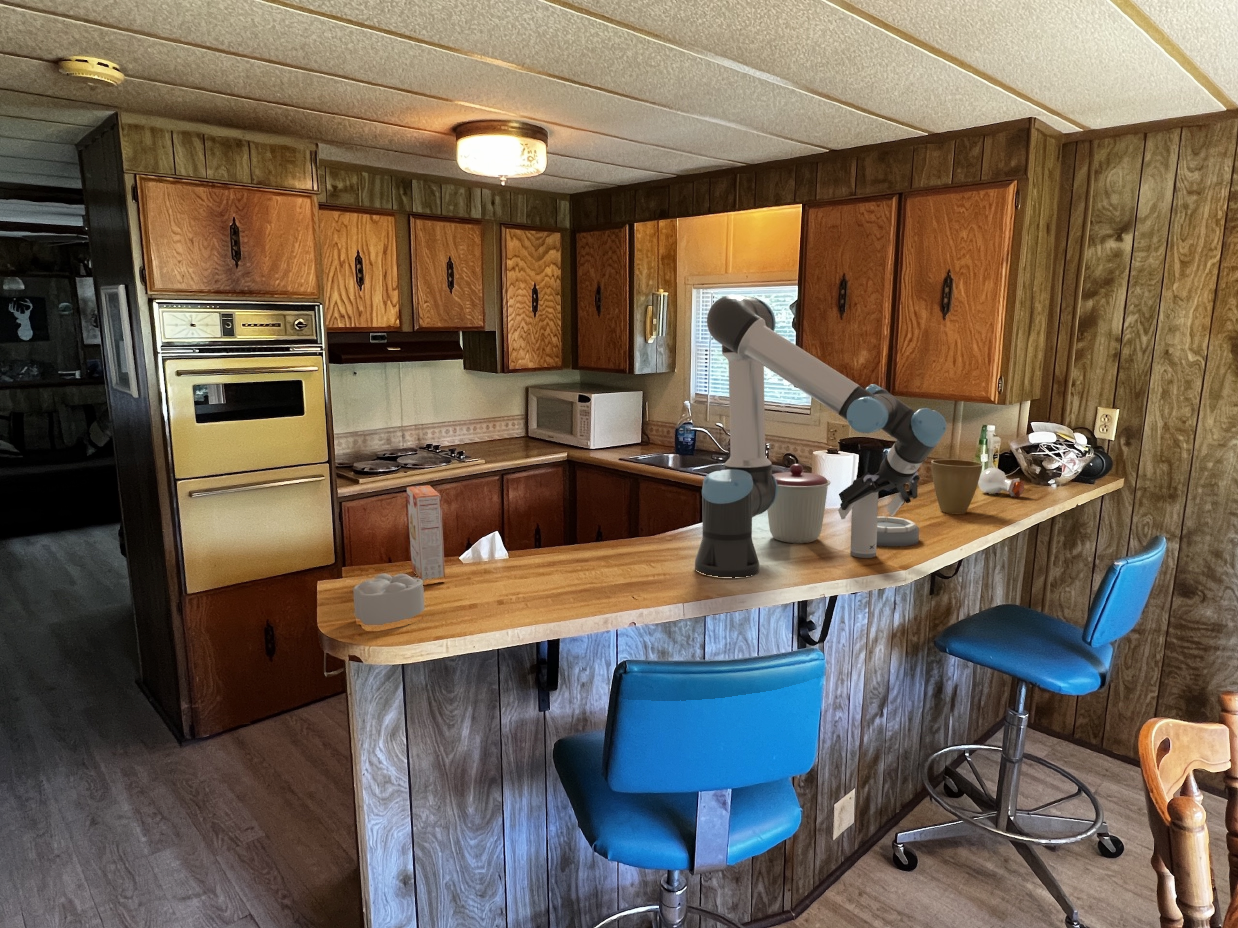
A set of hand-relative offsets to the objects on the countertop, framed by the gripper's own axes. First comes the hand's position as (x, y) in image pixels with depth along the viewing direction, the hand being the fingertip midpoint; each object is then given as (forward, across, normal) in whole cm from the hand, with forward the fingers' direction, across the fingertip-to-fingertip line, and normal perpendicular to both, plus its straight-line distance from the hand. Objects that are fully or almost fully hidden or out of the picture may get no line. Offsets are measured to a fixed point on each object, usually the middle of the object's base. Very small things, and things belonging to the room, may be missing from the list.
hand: (865, 513), depth 194 cm
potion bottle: (+50, +87, +34) cm, 106 cm away
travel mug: (+7, 0, -8) cm, 11 cm away
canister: (+22, -10, +6) cm, 24 cm away
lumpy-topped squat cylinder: (-6, -114, -22) cm, 117 cm away
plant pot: (+35, +54, +20) cm, 67 cm away
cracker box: (+14, -108, -1) cm, 109 cm away
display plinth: (+17, +14, +2) cm, 22 cm away
